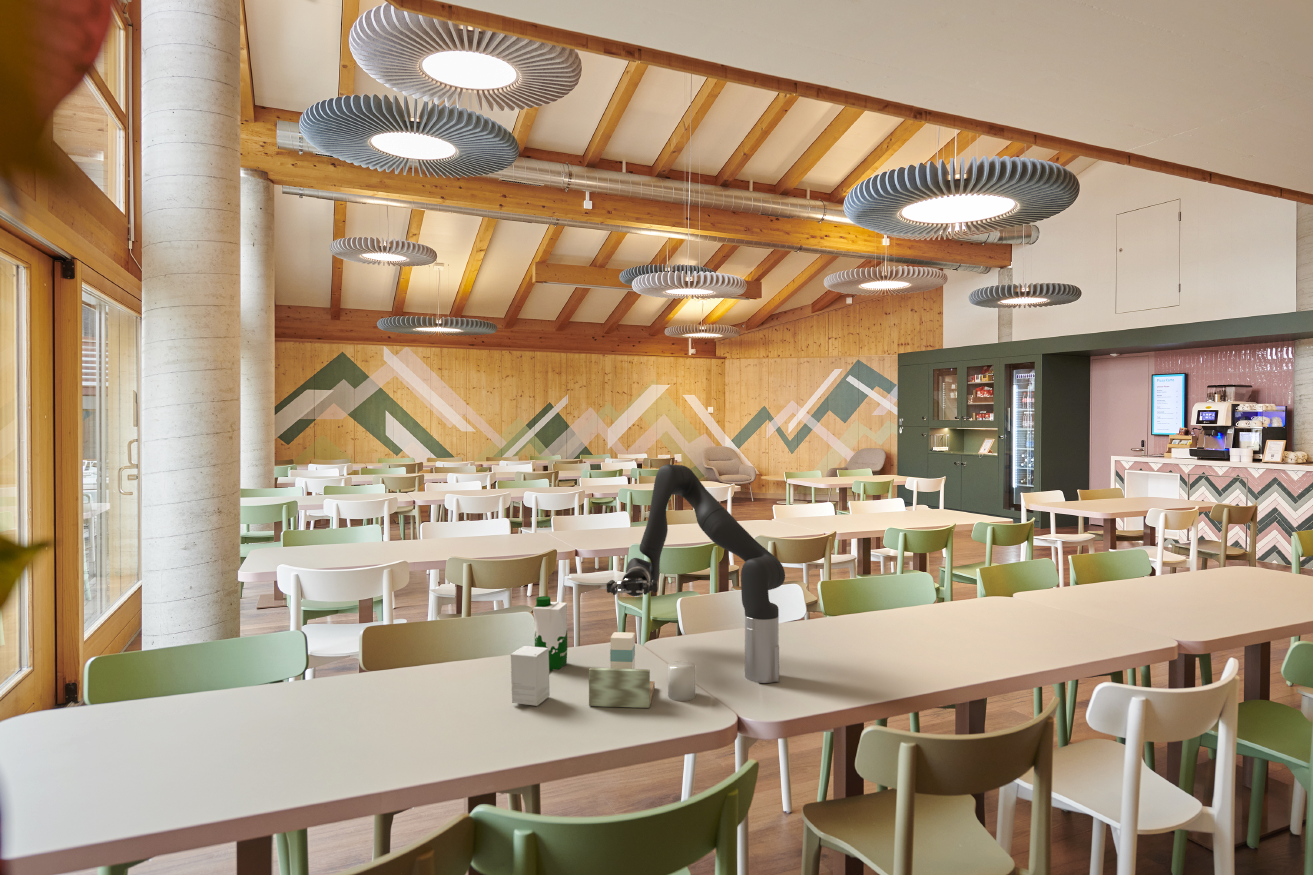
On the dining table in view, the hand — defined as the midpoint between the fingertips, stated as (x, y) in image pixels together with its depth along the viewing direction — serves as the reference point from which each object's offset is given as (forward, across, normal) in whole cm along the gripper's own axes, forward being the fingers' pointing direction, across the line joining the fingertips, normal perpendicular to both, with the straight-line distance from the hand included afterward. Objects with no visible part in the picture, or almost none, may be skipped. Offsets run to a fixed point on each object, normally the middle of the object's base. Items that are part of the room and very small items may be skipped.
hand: (629, 590), depth 211 cm
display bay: (+12, -1, +25) cm, 28 cm away
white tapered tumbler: (+10, +14, +25) cm, 31 cm away
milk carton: (-11, -25, +24) cm, 36 cm away
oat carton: (+11, -1, +23) cm, 26 cm away
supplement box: (+16, -24, +24) cm, 38 cm away
